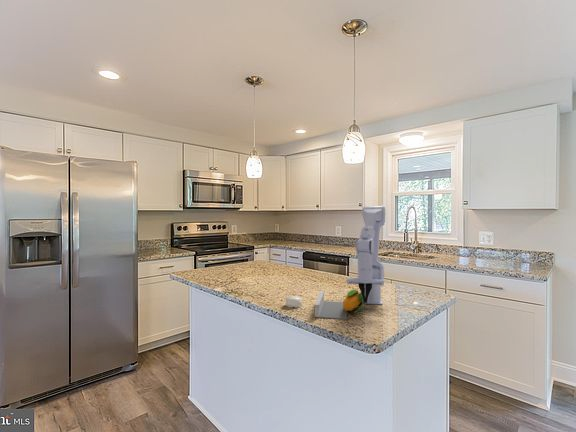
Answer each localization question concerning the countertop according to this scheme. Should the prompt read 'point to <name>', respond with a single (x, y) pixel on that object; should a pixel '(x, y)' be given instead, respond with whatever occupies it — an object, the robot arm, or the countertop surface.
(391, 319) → the countertop surface
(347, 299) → the toy fruit
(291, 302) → the white glossy round part
